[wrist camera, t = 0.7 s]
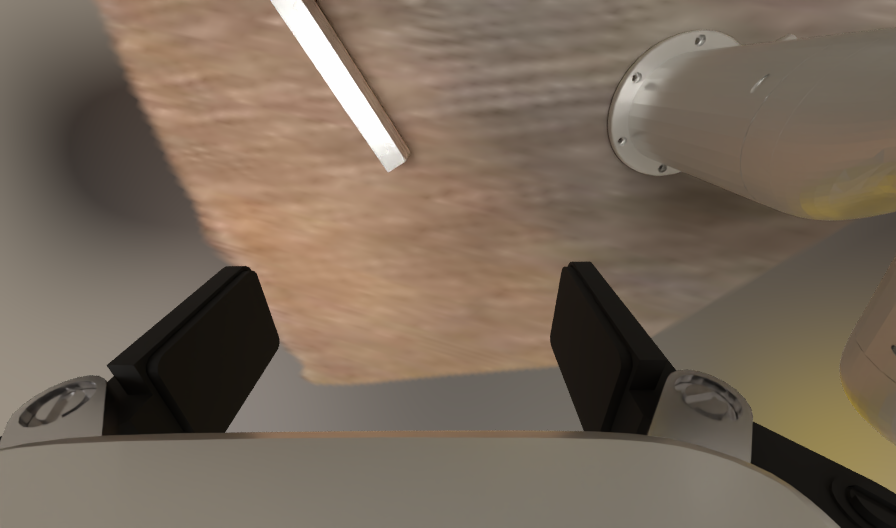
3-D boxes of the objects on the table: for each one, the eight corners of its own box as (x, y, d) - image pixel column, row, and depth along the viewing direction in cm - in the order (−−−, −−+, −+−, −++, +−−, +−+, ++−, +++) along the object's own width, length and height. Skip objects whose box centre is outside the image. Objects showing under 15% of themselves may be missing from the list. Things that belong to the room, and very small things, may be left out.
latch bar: (185, -218, 22) (119, -291, 18) (414, 149, 33) (409, 160, 29) (157, -182, 23) (87, -244, 18) (390, 165, 34) (381, 178, 30)
